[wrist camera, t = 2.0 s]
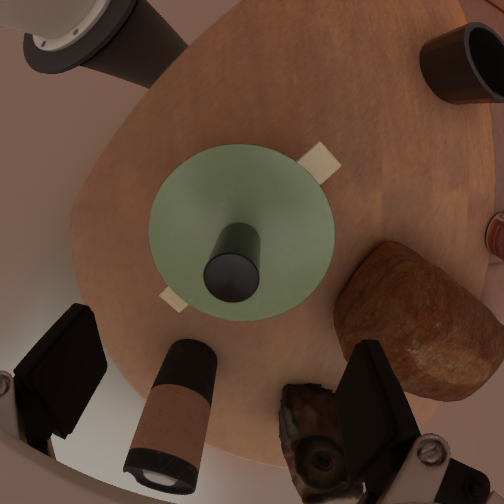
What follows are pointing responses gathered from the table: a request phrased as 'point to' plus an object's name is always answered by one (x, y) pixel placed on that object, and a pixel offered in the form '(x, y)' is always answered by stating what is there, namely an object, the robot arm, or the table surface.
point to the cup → (465, 65)
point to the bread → (420, 324)
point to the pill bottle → (496, 236)
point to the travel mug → (175, 421)
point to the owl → (315, 446)
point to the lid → (241, 232)
